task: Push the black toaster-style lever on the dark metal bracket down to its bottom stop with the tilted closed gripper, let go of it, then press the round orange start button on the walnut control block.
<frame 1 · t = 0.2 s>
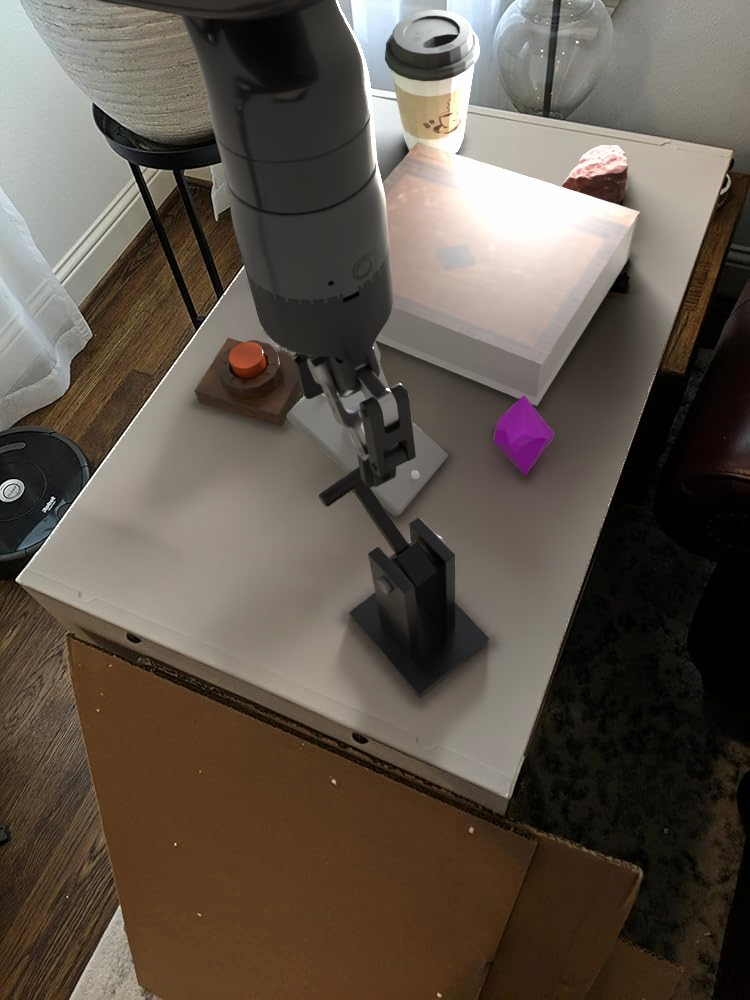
hand: (347, 433, 57), 26 cm above the cabinet, tool pointing down, fingers open, 8 cm apart
lever: (386, 526, 66), point 15 cm above the cabinet, hinge at 32.0°
grey and green cylinder: (352, 217, 107), on the cabinet
control block: (256, 387, 93), on the cabinet
crystal: (522, 450, 87), on the cabinet
bracket: (418, 630, 77), on the cabinet
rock: (591, 196, 105), on the cabinet
book: (472, 287, 99), on the cabinet
light switch: (372, 459, 87), on the cabinet
start button: (247, 360, 89), point 5 cm above the cabinet, slide at 0.2 cm
coffee cup: (434, 145, 113), on the cabinet
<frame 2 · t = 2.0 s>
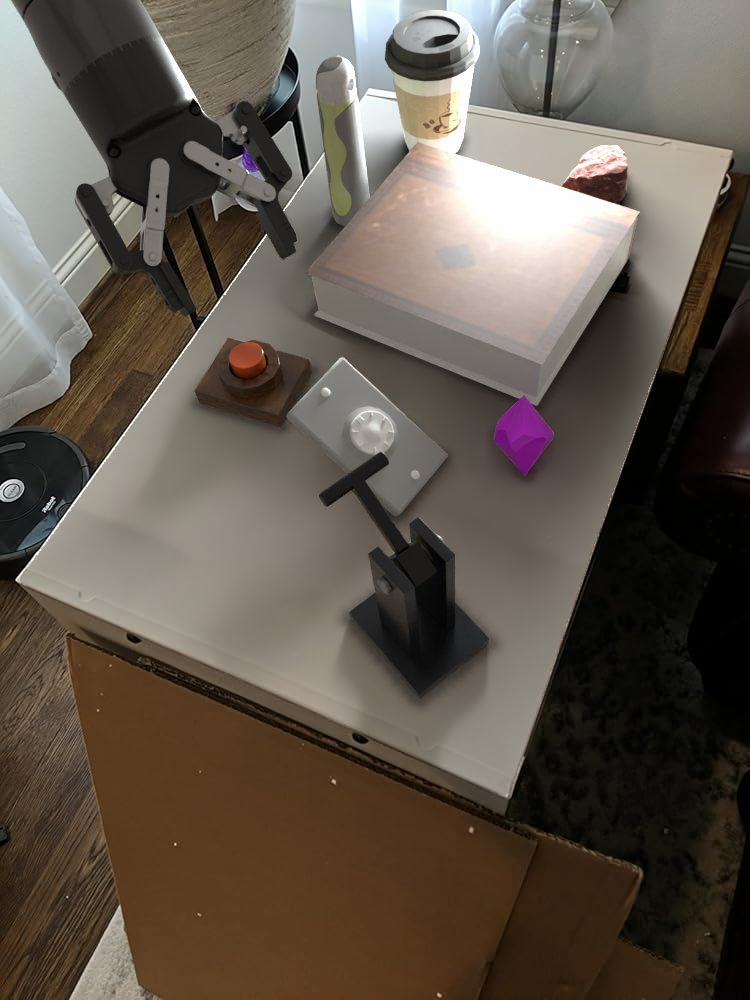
hand: (241, 284, 61), 29 cm above the cabinet, tool tilted 45°, fingers open, 8 cm apart
nothing on the cabinet moved.
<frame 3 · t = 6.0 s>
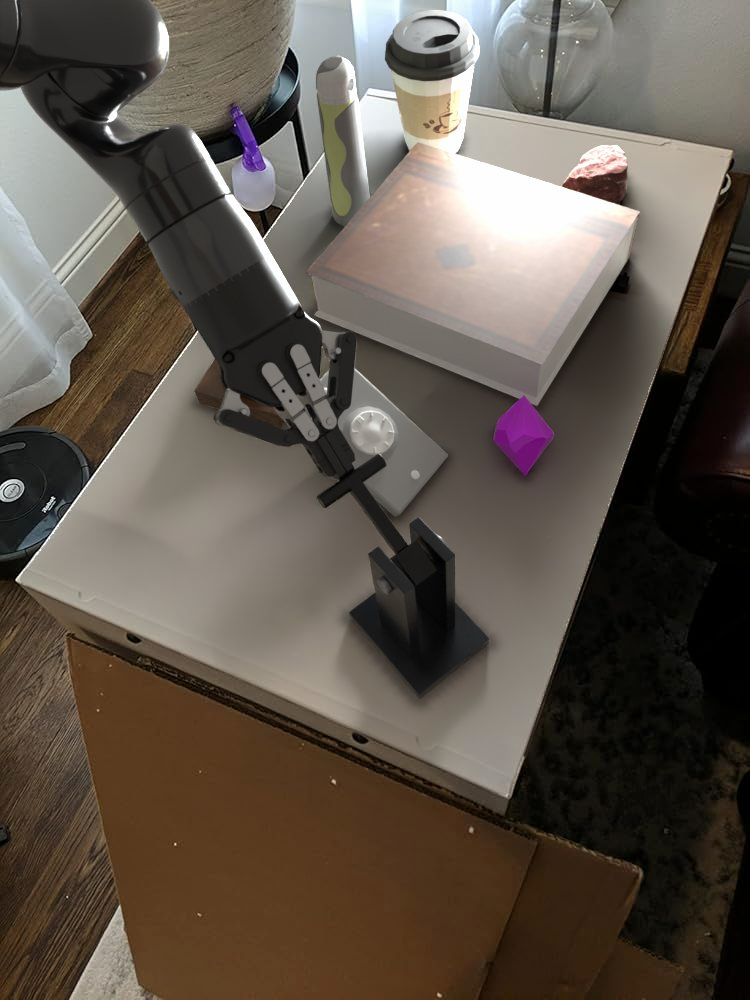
hand: (344, 474, 67), 16 cm above the cabinet, tool tilted 45°, fingers closed
lever: (385, 526, 66), point 15 cm above the cabinet, hinge at 25.7°, touching gripper
everything else where it was.
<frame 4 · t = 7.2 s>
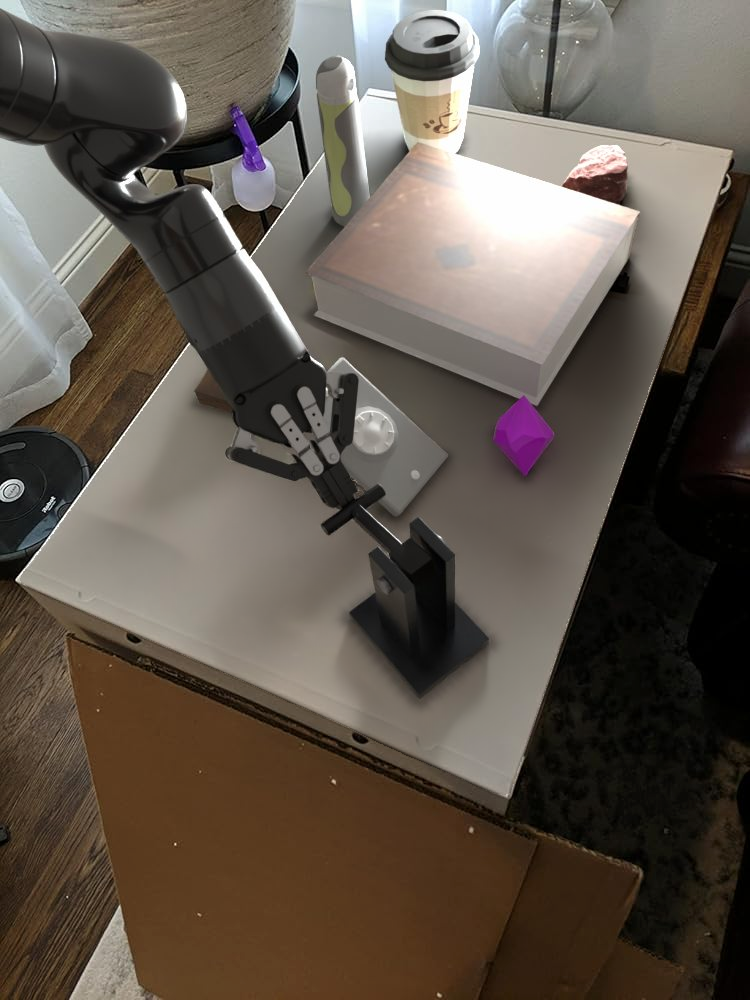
hand: (346, 504, 72), 11 cm above the cabinet, tool tilted 45°, fingers closed
lever: (384, 538, 68), point 12 cm above the cabinet, hinge at -11.9°, touching gripper
everything else where it was.
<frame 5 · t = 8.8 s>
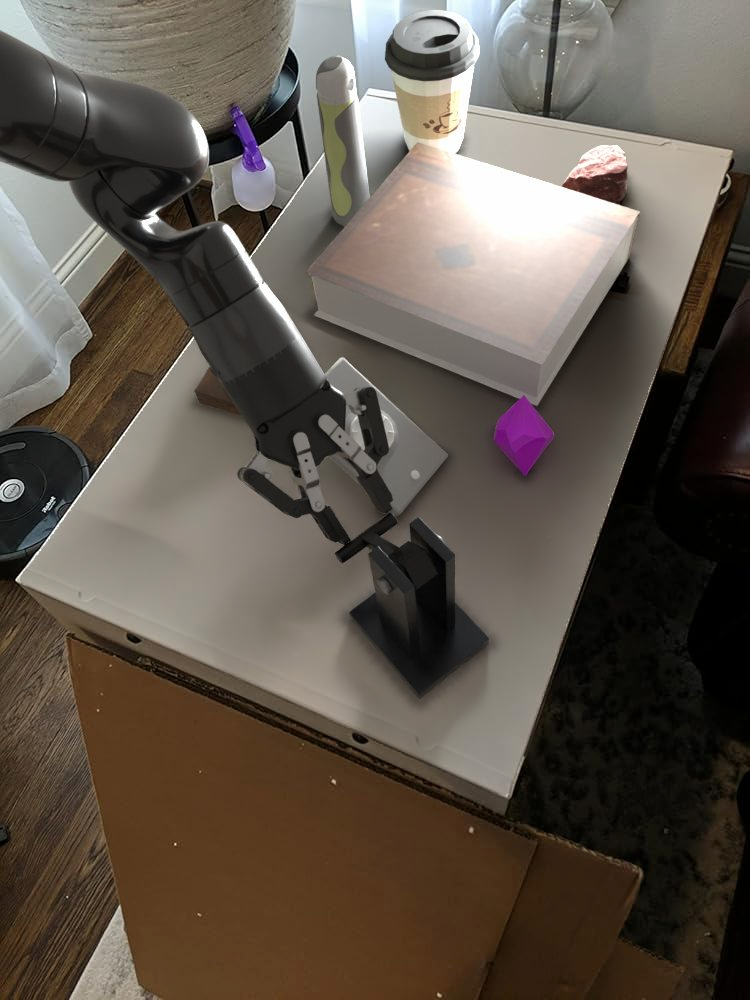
hand: (364, 525, 74), 8 cm above the cabinet, tool tilted 45°, fingers open, 4 cm apart
lever: (390, 552, 69), point 11 cm above the cabinet, hinge at -35.9°, touching gripper
everything else where it was.
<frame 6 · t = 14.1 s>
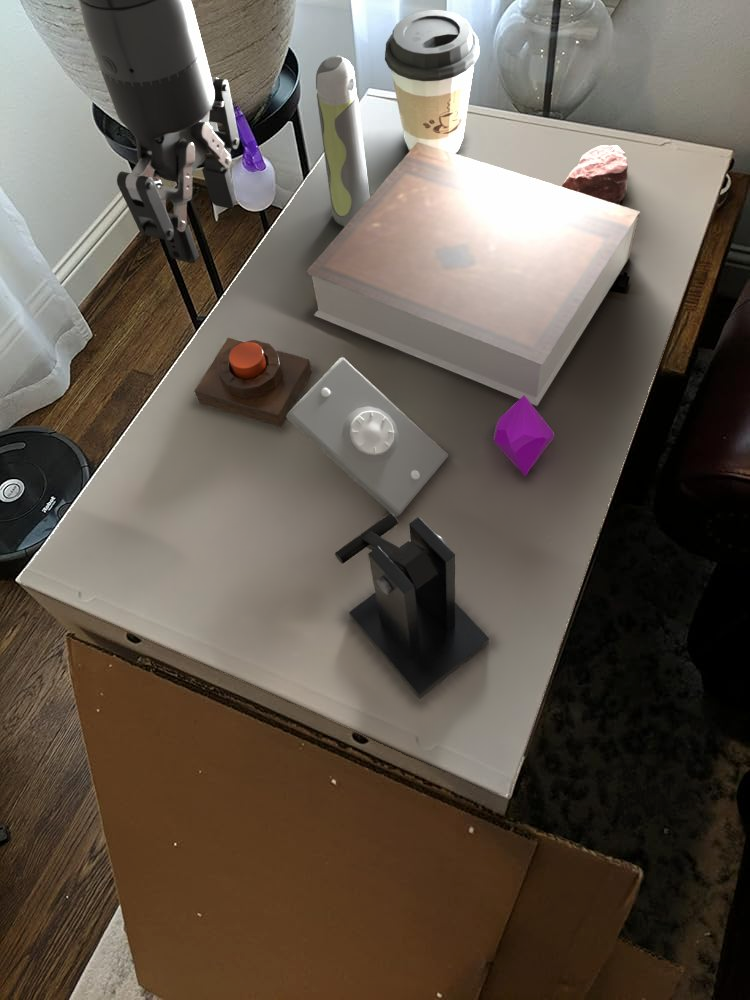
hand: (206, 230, 75), 22 cm above the cabinet, tool pointing down, fingers open, 6 cm apart
lever: (390, 552, 69), point 11 cm above the cabinet, hinge at -36.1°
everything else where it was.
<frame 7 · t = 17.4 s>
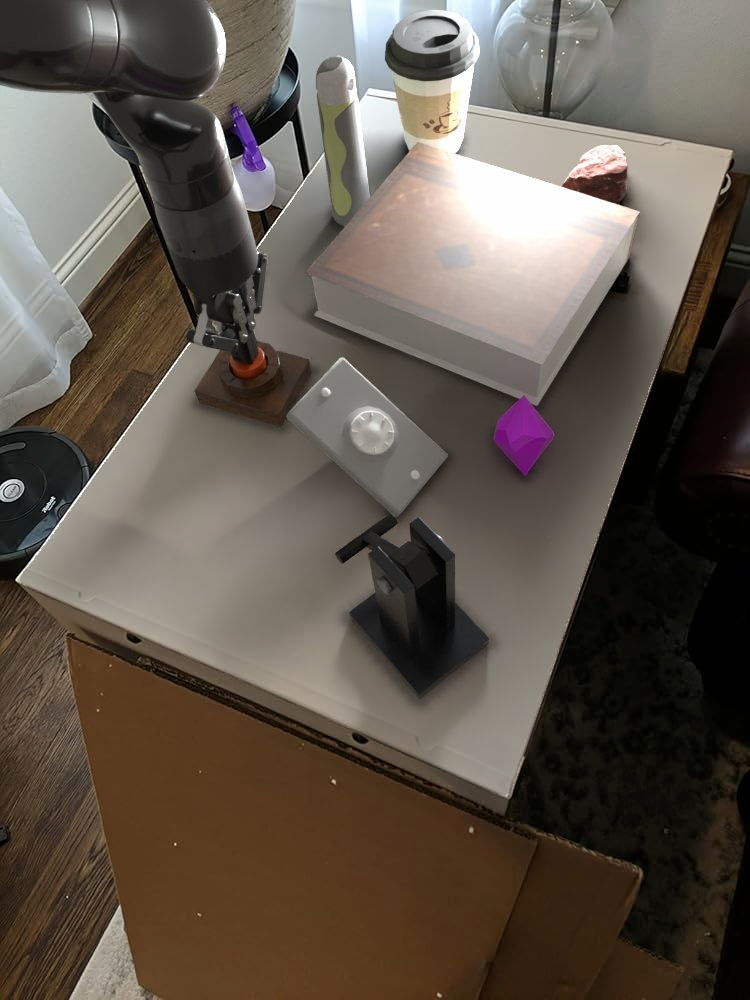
hand: (247, 357, 89), 5 cm above the cabinet, tool pointing down, fingers closed
start button: (248, 363, 90), point 4 cm above the cabinet, slide at -0.3 cm, touching gripper
everything else where it was.
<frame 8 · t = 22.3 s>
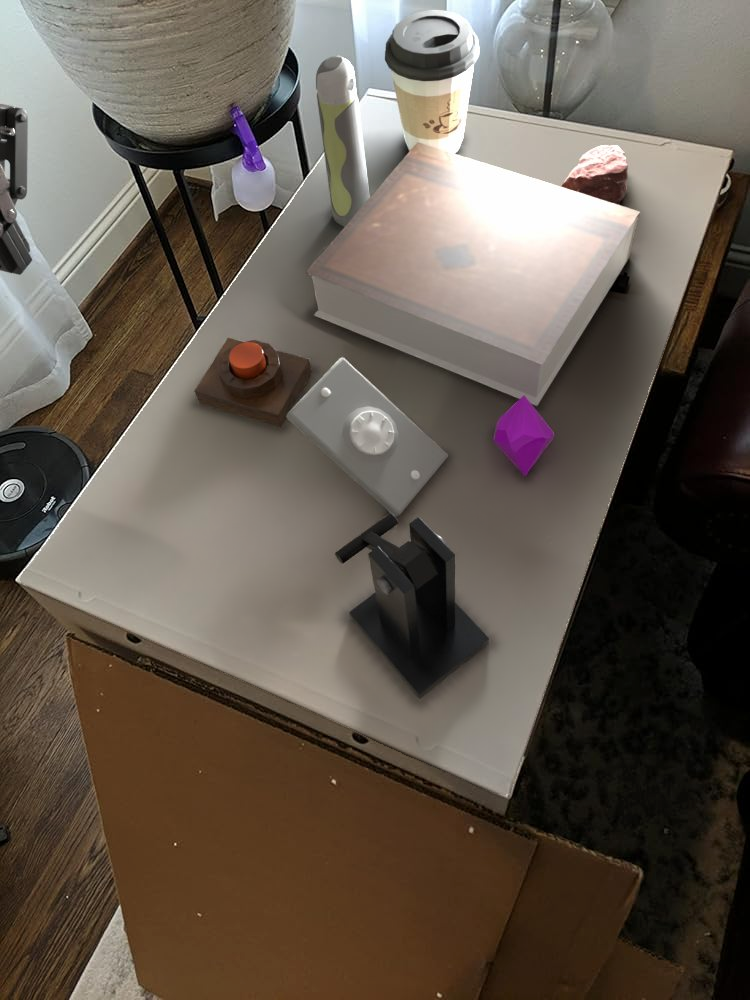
hand: (17, 265, 64), 29 cm above the cabinet, tool pointing down, fingers closed
start button: (247, 360, 90), point 5 cm above the cabinet, slide at 0.2 cm
everything else where it was.
at the end: lever at -36° (first picture: +32°); start button pushed in 1.0 cm at the most during the clip, back to 0.2 cm at the end; start button slide at 0.2 cm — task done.
